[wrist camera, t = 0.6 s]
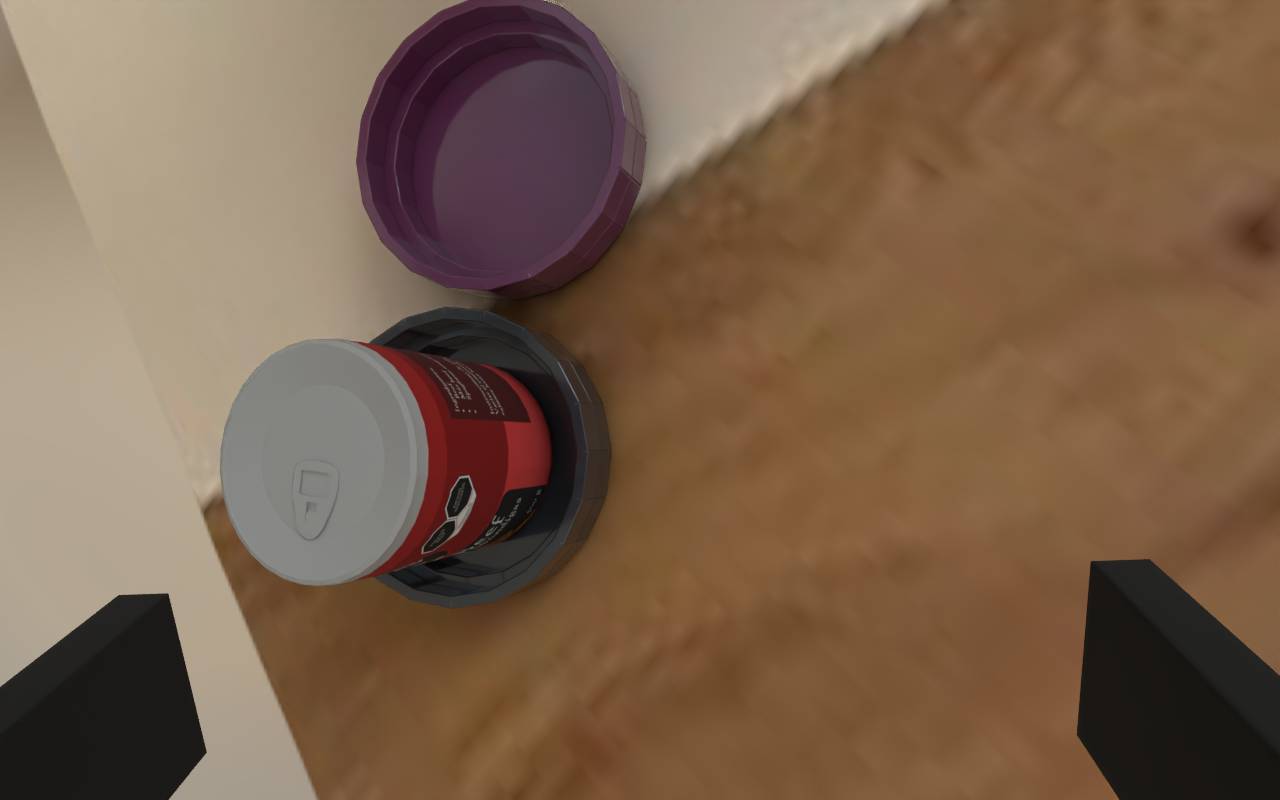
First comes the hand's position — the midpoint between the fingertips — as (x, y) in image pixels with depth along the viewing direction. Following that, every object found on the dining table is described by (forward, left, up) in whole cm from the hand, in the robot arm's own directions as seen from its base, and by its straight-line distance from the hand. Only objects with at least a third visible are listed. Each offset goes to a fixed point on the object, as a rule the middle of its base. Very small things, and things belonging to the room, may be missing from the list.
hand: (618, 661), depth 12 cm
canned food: (-1, -14, -22) cm, 27 cm away
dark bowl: (-1, -14, -22) cm, 27 cm away
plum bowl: (-14, -14, -22) cm, 30 cm away
